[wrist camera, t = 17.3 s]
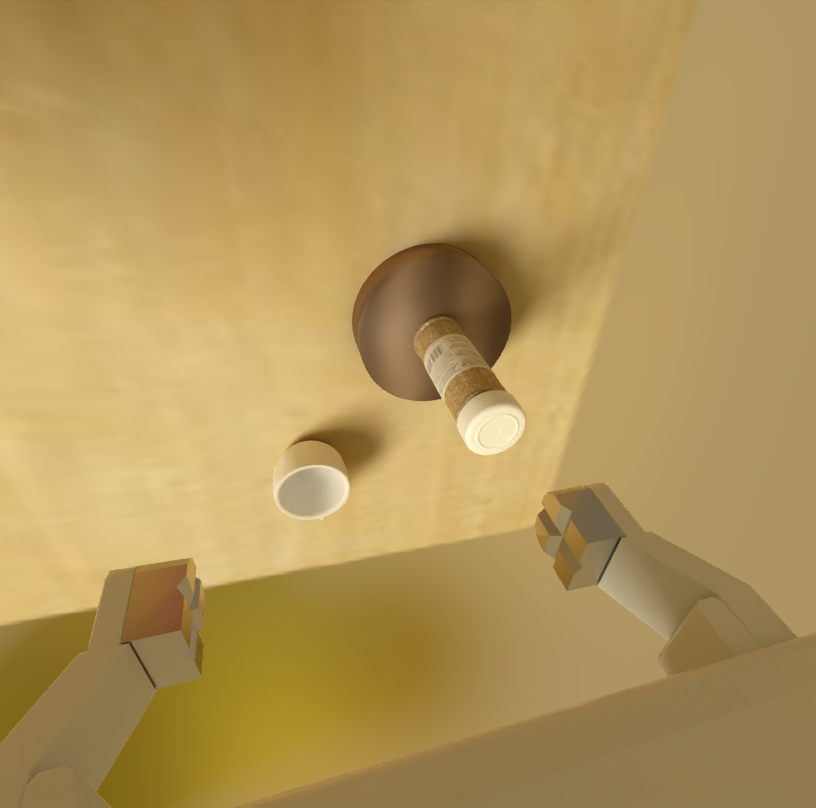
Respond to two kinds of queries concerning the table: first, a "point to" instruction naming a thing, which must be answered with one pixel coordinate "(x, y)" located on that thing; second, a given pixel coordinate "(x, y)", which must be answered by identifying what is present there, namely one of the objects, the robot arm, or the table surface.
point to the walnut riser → (425, 314)
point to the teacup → (310, 481)
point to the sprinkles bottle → (469, 387)
